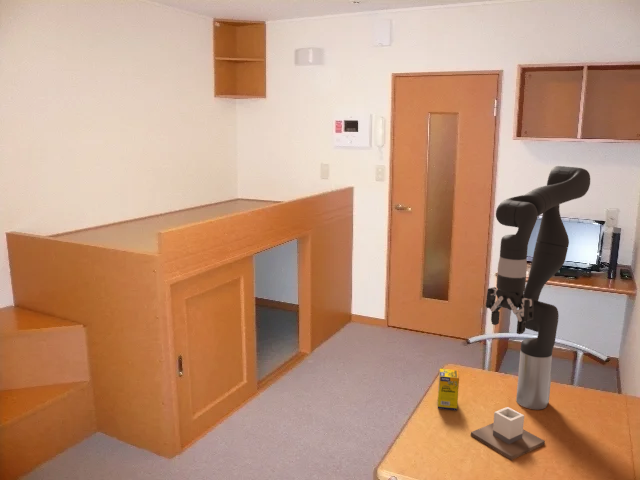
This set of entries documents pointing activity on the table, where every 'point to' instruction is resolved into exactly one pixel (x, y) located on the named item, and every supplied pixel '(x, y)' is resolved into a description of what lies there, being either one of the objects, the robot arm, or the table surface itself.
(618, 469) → the table surface
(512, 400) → the table surface
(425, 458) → the table surface
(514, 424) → the sleeve
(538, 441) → the pin plate
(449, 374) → the supplement box
